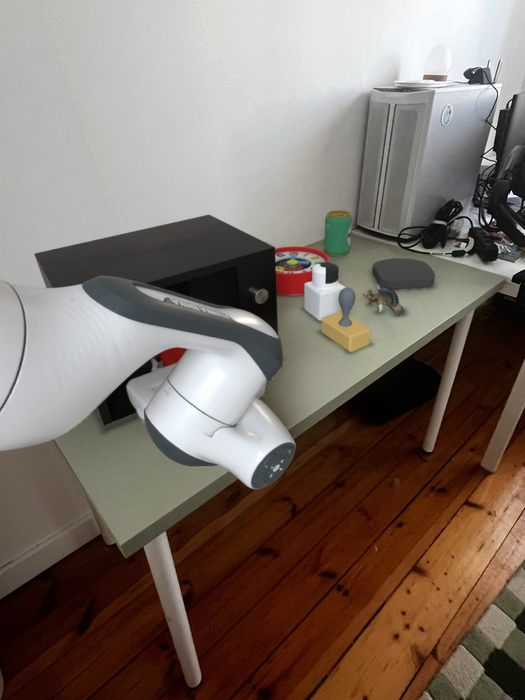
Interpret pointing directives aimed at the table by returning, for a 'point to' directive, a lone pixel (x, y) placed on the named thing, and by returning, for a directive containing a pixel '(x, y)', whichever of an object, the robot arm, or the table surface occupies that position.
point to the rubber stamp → (346, 324)
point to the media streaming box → (403, 273)
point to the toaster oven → (173, 275)
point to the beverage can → (337, 232)
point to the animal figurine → (385, 299)
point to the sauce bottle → (172, 355)
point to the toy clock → (295, 268)
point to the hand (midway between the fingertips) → (176, 353)
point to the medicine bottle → (323, 291)
